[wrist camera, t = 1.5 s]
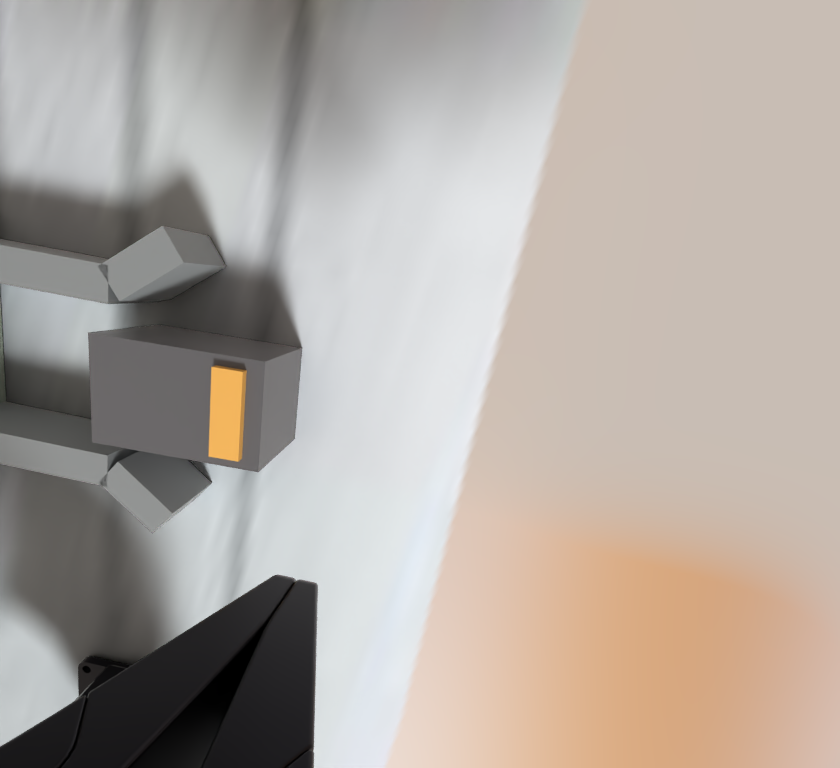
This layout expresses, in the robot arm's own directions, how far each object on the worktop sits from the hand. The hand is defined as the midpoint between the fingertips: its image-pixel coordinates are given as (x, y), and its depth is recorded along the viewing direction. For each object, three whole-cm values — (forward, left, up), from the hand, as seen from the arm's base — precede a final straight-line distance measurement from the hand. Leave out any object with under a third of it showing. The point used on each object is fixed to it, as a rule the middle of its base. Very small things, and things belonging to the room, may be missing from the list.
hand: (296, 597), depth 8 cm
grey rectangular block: (0, +8, -12) cm, 15 cm away
